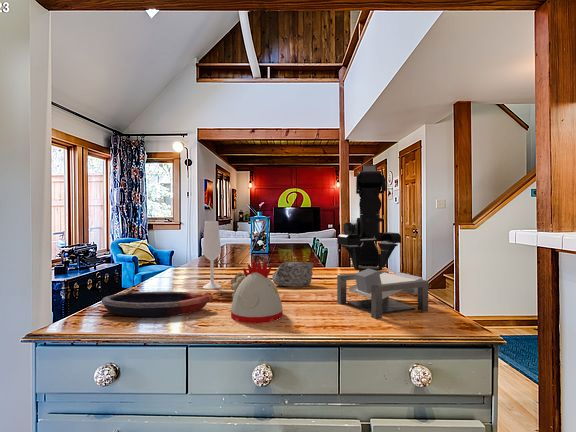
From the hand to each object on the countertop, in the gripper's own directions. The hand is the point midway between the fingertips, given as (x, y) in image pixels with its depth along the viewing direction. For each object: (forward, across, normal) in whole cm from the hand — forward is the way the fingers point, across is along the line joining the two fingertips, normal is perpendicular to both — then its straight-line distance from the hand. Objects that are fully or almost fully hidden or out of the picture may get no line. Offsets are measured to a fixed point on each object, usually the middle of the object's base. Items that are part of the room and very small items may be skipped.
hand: (369, 268), depth 113 cm
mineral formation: (+12, +27, -29) cm, 41 cm away
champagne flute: (+12, +34, -49) cm, 61 cm away
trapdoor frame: (+12, -4, 0) cm, 12 cm away
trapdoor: (+9, -7, 0) cm, 12 cm away
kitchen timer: (+12, +32, -7) cm, 35 cm away
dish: (+12, +56, -23) cm, 62 cm away
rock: (+12, +6, -39) cm, 41 cm away
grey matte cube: (+6, 0, 0) cm, 6 cm away
